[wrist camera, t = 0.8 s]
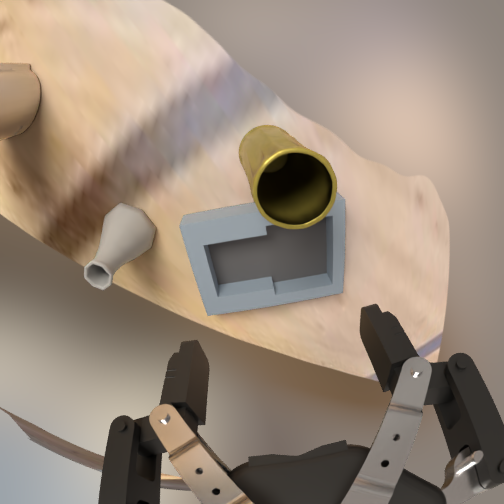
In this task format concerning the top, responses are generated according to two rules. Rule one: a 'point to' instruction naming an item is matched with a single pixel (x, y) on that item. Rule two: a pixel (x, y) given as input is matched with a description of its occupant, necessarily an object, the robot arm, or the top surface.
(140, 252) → the flask
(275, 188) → the vase
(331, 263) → the keyhole board
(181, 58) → the top surface
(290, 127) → the top surface
